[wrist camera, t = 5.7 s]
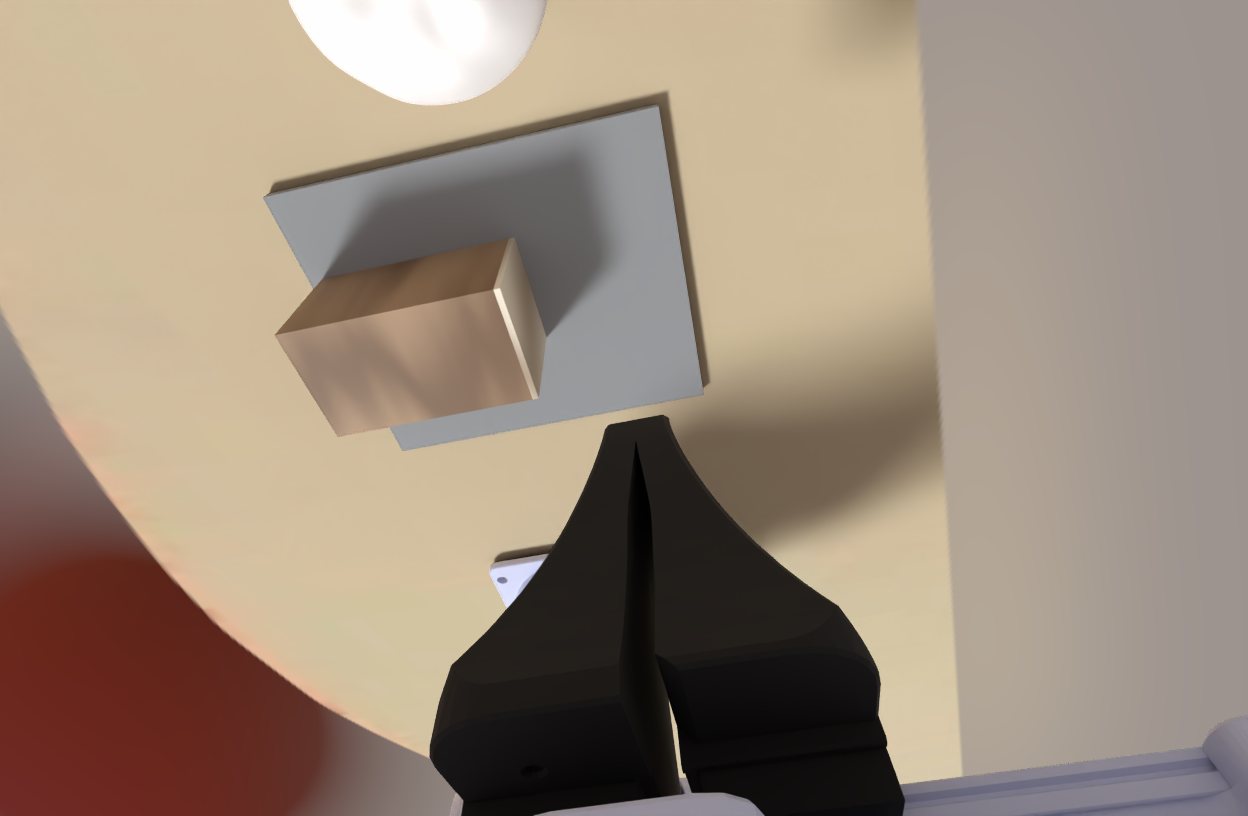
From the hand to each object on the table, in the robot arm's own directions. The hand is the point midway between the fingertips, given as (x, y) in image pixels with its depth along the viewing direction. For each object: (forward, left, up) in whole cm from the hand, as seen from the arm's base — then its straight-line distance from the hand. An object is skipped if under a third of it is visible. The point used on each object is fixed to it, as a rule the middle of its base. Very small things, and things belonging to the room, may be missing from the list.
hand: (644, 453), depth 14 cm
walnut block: (0, +3, -8) cm, 9 cm away
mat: (0, +4, -10) cm, 11 cm away
